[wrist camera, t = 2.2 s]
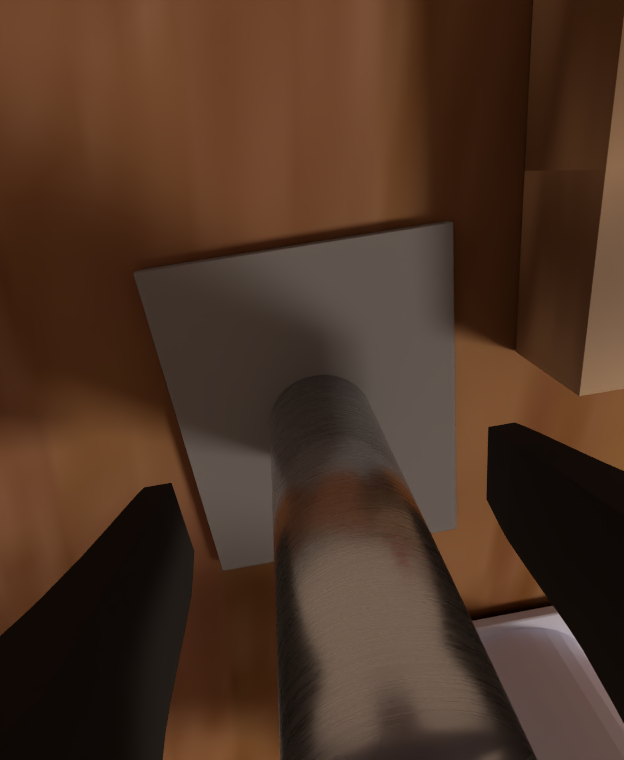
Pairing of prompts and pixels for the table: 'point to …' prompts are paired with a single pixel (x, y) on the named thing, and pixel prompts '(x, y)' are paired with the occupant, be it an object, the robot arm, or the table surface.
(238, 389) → the mat
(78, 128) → the table surface
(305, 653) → the peg
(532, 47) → the hole block
